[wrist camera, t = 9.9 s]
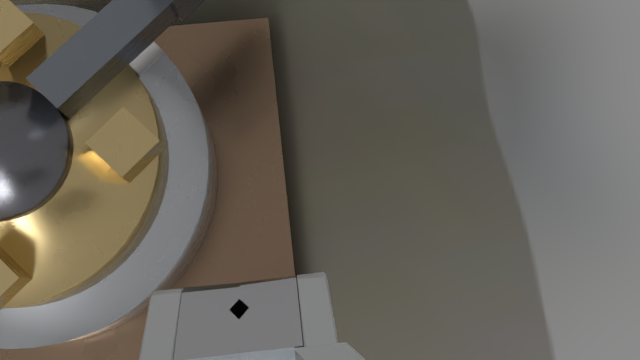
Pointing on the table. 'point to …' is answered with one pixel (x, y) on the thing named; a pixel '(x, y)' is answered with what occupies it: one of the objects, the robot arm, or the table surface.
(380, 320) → the table surface
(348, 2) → the table surface
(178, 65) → the housing
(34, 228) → the grey and yellow model
